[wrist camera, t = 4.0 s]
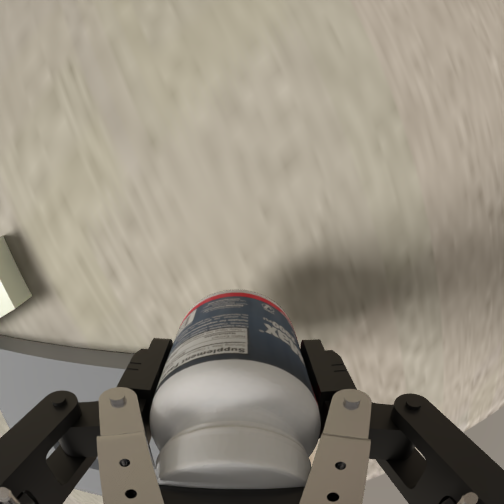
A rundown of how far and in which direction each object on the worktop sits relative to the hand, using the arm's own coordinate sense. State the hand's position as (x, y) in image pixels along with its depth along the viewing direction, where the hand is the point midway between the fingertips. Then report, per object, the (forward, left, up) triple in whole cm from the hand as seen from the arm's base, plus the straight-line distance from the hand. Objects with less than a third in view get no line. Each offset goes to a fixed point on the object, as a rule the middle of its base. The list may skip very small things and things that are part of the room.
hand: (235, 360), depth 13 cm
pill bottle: (0, 0, -2) cm, 2 cm away
